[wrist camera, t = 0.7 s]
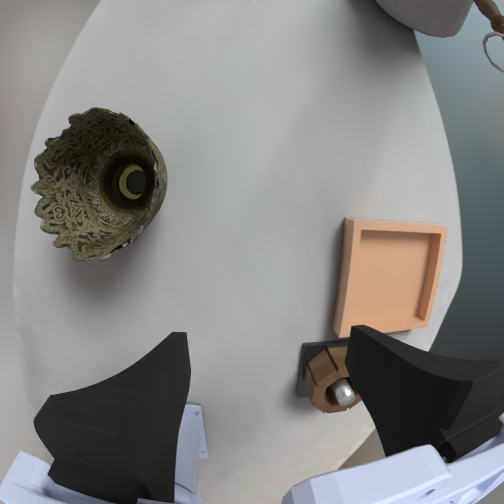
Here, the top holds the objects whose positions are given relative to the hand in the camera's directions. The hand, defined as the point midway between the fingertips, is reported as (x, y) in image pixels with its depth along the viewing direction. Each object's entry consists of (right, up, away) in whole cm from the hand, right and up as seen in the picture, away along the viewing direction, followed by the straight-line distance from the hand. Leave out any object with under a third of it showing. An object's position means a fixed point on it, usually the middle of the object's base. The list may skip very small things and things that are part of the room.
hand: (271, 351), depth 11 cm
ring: (+7, -7, +12) cm, 15 cm away
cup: (-9, +9, +8) cm, 15 cm away
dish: (+11, +2, +10) cm, 15 cm away
